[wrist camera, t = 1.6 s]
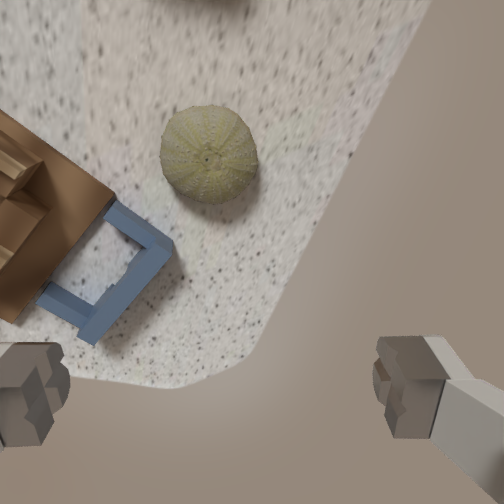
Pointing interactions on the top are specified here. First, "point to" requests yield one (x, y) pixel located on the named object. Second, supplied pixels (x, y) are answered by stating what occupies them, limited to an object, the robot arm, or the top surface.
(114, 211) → the blue stepped bracket
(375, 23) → the top surface
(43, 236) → the stand
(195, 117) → the sea urchin shell
